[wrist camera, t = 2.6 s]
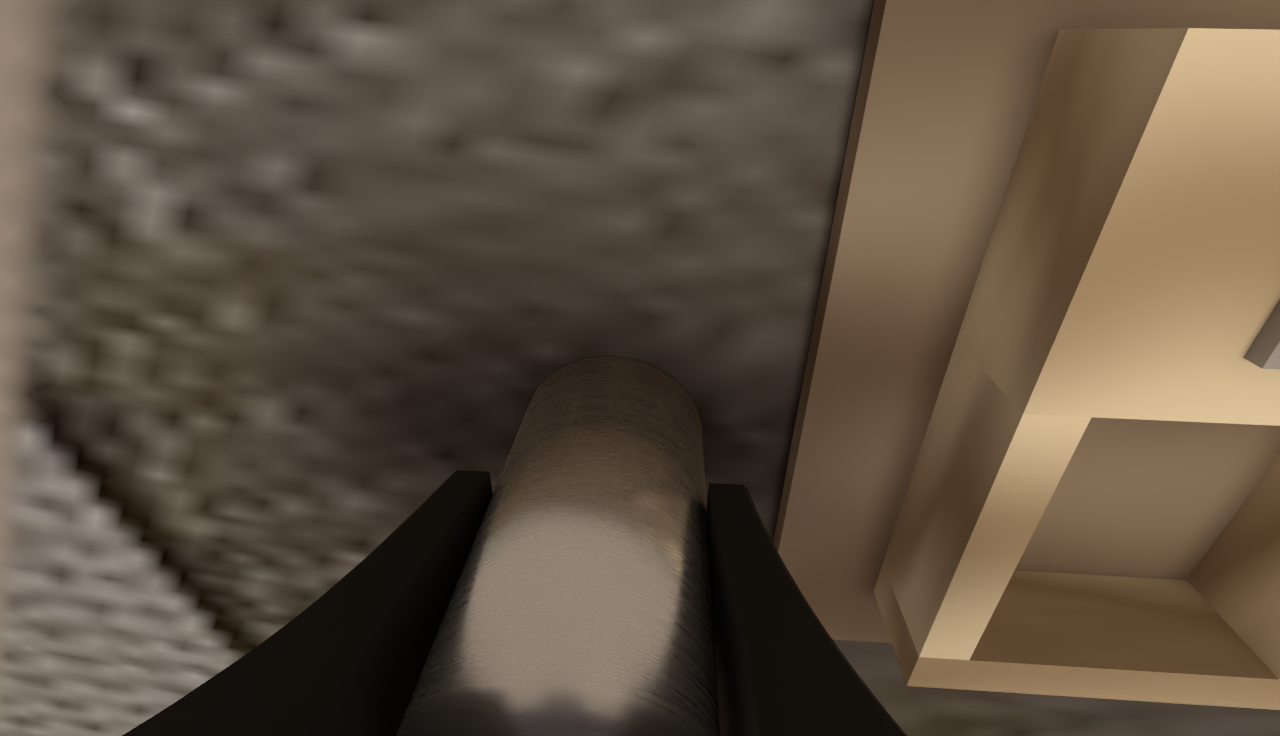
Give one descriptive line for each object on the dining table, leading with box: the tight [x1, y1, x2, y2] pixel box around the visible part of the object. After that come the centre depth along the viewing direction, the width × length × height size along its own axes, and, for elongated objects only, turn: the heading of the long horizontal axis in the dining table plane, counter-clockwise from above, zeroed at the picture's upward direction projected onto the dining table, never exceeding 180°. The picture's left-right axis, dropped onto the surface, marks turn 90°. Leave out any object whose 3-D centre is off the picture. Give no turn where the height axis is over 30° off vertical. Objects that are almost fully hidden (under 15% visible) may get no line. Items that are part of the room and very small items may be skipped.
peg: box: [396, 356, 720, 736], centre depth 10 cm, size 4×4×7 cm
